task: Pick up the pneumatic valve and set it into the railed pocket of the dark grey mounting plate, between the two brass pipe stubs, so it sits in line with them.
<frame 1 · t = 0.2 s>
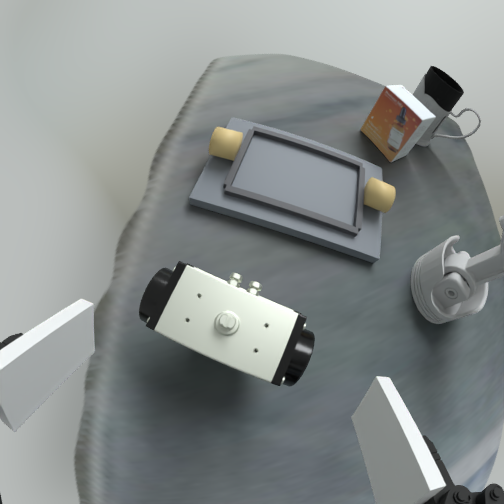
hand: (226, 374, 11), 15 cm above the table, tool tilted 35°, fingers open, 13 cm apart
small box: (383, 143, 40), on the table
glass holder: (422, 139, 43), on the table
pneumatic valve: (226, 333, 26), on the table
mounting plate: (298, 184, 34), on the table
engine component: (437, 290, 31), on the table
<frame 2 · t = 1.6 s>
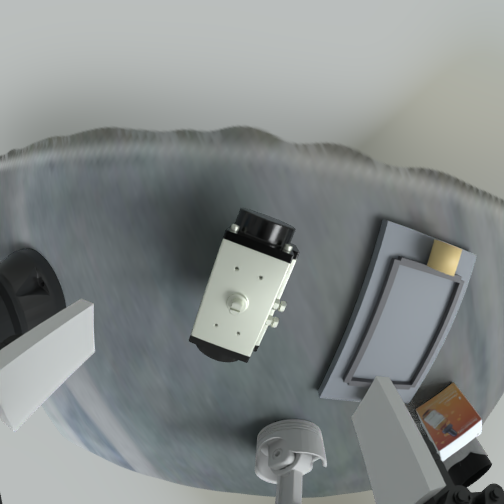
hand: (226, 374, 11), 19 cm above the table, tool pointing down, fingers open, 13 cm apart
small box: (436, 402, 32), on the table
glass holder: (435, 437, 34), on the table
pneumatic valve: (252, 265, 29), on the table
mounting plate: (401, 325, 29), on the table
engine component: (287, 439, 34), on the table
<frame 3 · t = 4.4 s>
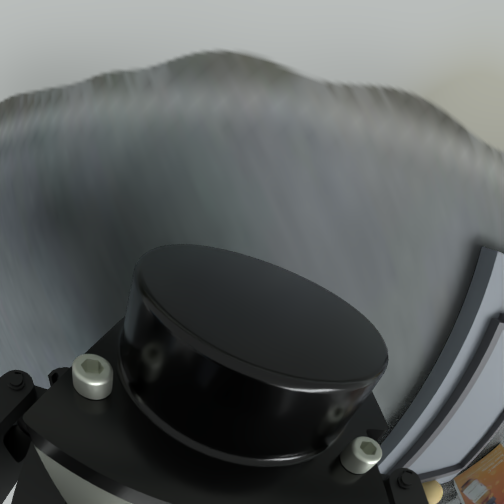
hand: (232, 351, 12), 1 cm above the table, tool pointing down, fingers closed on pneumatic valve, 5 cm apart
small box: (476, 465, 16), on the table
pneumatic valve: (234, 341, 13), on the table, touching gripper
mounting plate: (470, 404, 14), on the table
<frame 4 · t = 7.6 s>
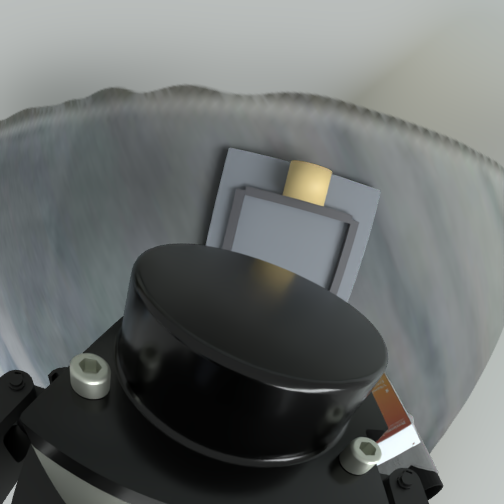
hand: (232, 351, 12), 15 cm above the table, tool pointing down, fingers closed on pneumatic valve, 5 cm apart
small box: (363, 394, 30), on the table
glass holder: (376, 440, 32), on the table
pneumatic valve: (234, 341, 13), point 14 cm above the table, touching gripper
mounting plate: (276, 280, 28), on the table
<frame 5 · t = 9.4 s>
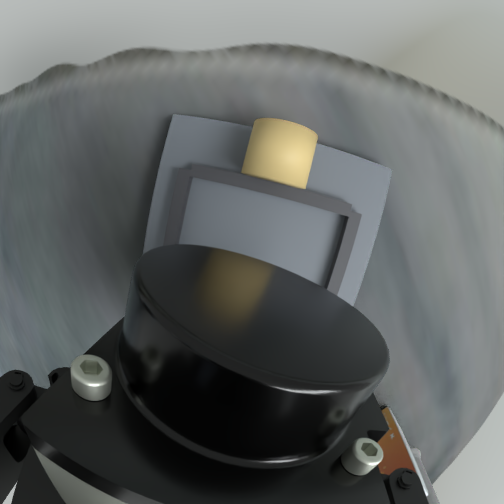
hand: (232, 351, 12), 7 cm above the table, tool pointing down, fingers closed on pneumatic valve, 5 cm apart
small box: (361, 433, 22), on the table
glass holder: (375, 475, 24), on the table
pneumatic valve: (234, 341, 13), point 6 cm above the table, touching gripper
mounting plate: (243, 297, 20), on the table
when the fingers open (3 cm above the table, at t = 10.9 s): pneumatic valve stays where it is, resting on mounting plate.
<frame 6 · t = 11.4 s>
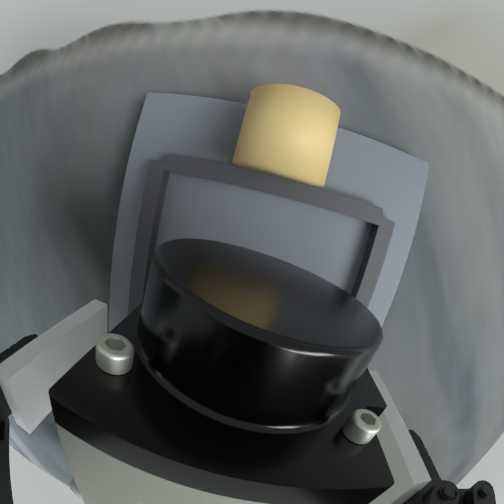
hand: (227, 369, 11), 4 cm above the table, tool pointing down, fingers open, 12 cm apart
pneumatic valve: (238, 338, 14), point 1 cm above the table, touching mounting plate
mounting plate: (238, 326, 15), on the table
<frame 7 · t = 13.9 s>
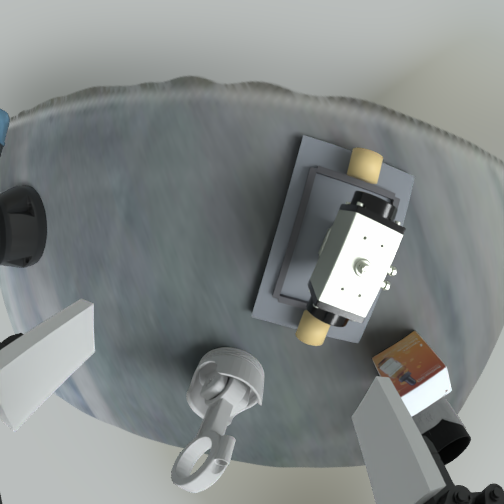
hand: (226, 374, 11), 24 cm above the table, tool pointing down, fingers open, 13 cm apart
small box: (397, 355, 35), on the table
glass holder: (405, 405, 37), on the table
pneumatic valve: (338, 246, 31), point 1 cm above the table, touching mounting plate
mounting plate: (335, 244, 33), on the table
engine component: (229, 375, 38), on the table
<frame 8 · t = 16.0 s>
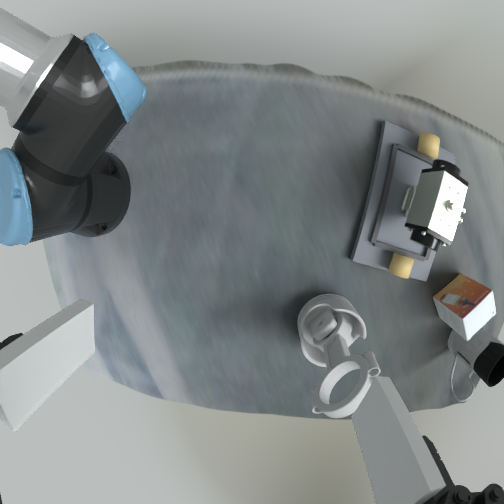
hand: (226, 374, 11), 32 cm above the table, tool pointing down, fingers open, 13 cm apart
small box: (449, 295, 41), on the table
glass holder: (453, 344, 43), on the table
pneumatic valve: (412, 203, 37), point 1 cm above the table, touching mounting plate
mounting plate: (407, 203, 39), on the table
engine component: (324, 322, 44), on the table
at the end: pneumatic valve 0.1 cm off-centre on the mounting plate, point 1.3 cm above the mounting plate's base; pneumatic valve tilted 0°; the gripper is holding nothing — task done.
